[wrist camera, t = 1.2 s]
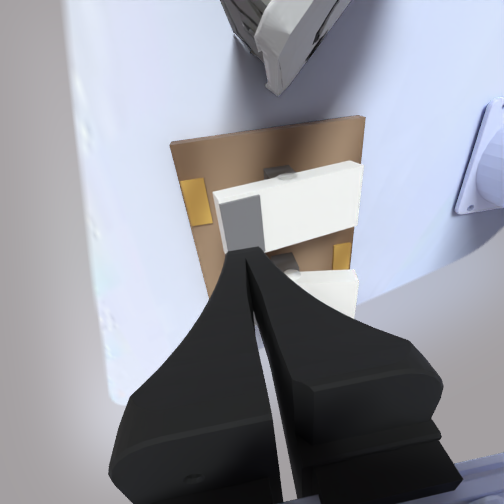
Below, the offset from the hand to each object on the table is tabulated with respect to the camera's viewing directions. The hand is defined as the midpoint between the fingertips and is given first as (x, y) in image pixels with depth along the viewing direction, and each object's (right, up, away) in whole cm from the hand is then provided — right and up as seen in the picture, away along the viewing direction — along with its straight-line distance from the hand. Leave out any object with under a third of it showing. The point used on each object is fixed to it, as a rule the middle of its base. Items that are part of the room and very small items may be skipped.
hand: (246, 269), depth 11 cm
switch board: (+2, +3, +9) cm, 10 cm away
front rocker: (+2, +3, +4) cm, 6 cm away
